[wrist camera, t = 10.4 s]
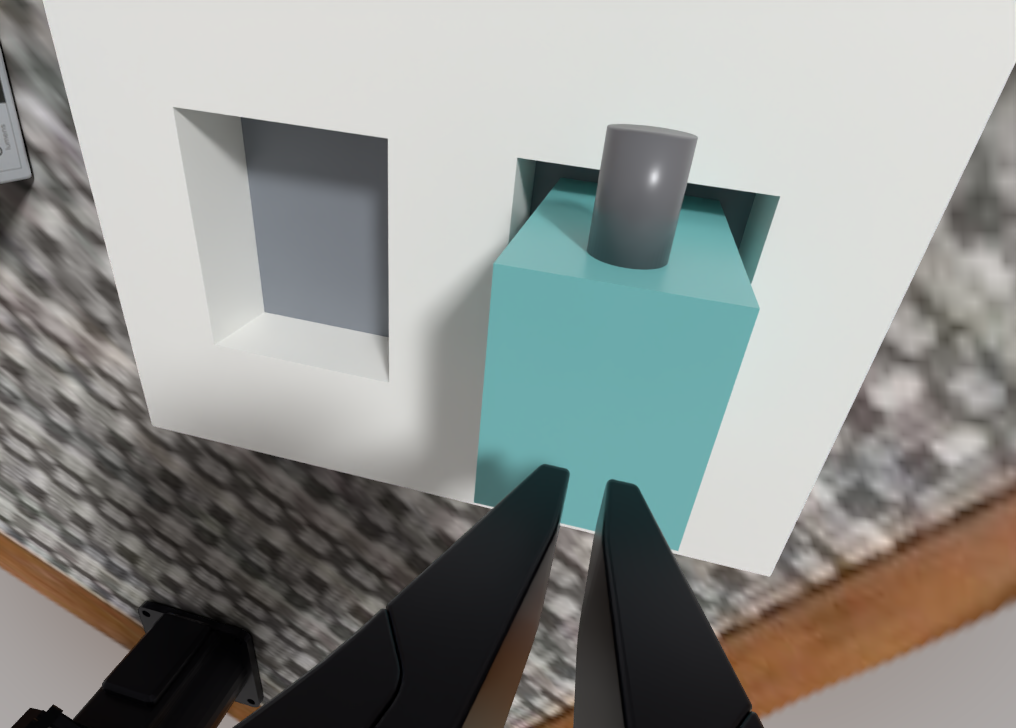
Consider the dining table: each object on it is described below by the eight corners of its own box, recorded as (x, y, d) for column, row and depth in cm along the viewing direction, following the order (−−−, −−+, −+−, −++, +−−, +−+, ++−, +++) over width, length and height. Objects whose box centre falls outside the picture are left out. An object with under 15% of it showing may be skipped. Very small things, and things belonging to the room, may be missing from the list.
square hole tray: (753, 495, 19) (770, 576, 16) (220, 375, 22) (152, 425, 19) (955, 5, 12) (1049, -8, 9) (142, -72, 15) (17, -100, 12)
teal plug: (672, 372, 17) (678, 551, 11) (538, 347, 17) (473, 502, 11) (743, 113, 13) (808, 165, 7) (572, 93, 14) (505, 125, 8)
